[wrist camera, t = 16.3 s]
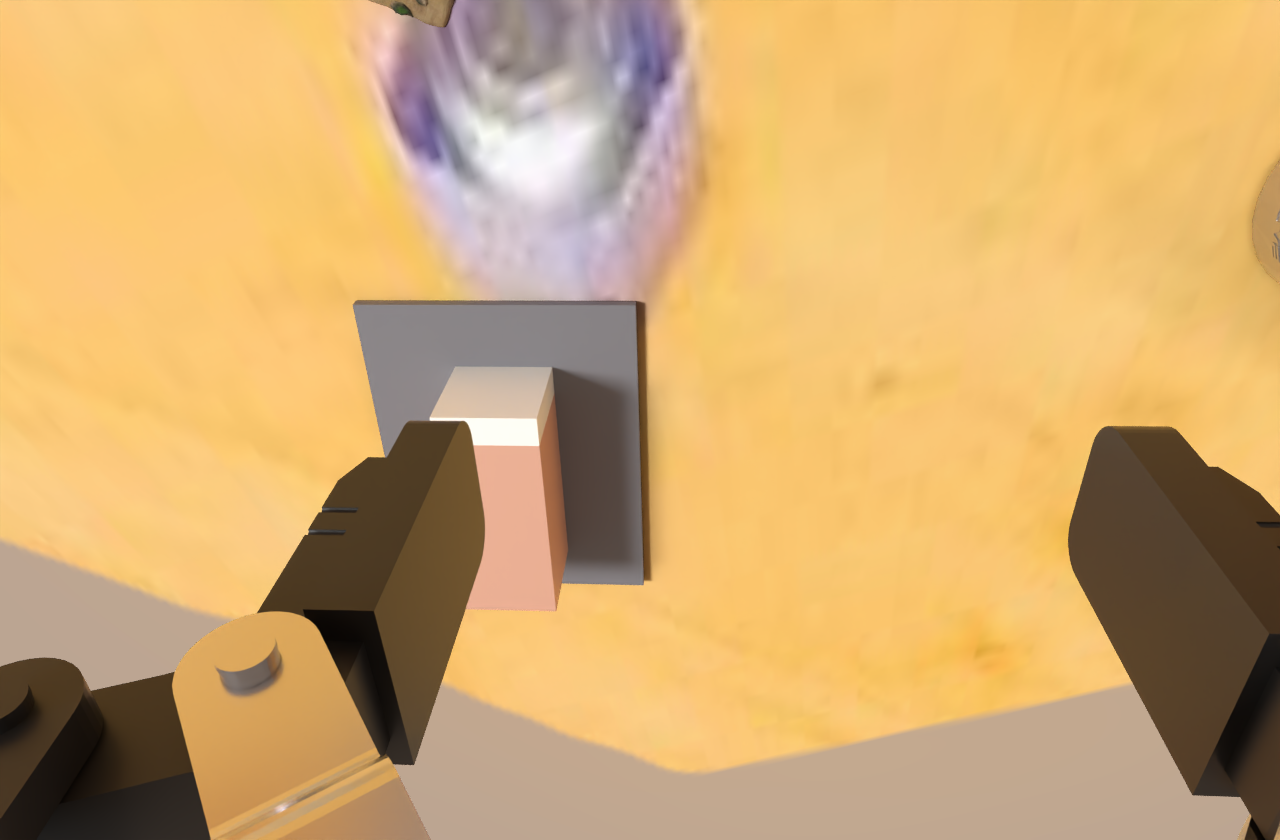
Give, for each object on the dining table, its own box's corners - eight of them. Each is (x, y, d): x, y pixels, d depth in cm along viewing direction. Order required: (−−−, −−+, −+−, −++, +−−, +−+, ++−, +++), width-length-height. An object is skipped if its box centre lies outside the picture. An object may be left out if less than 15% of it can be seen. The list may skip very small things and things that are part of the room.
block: (463, 609, 47) (429, 417, 40) (482, 548, 51) (455, 366, 45) (556, 611, 46) (536, 418, 40) (568, 549, 51) (552, 367, 44)
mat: (636, 301, 43) (635, 305, 42) (643, 579, 52) (643, 585, 52) (356, 300, 44) (352, 304, 43) (413, 574, 53) (411, 579, 53)
